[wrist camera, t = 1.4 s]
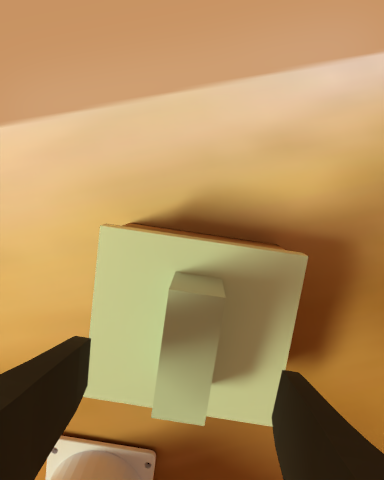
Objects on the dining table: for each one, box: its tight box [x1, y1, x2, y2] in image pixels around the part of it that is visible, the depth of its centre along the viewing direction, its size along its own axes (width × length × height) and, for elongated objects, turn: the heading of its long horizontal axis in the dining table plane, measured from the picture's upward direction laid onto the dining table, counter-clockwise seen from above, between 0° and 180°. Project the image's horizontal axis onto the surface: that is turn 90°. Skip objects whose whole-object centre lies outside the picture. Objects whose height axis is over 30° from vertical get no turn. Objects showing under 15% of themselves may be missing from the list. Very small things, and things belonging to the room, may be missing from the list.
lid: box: [83, 224, 308, 427], centre depth 16 cm, size 10×11×5 cm
